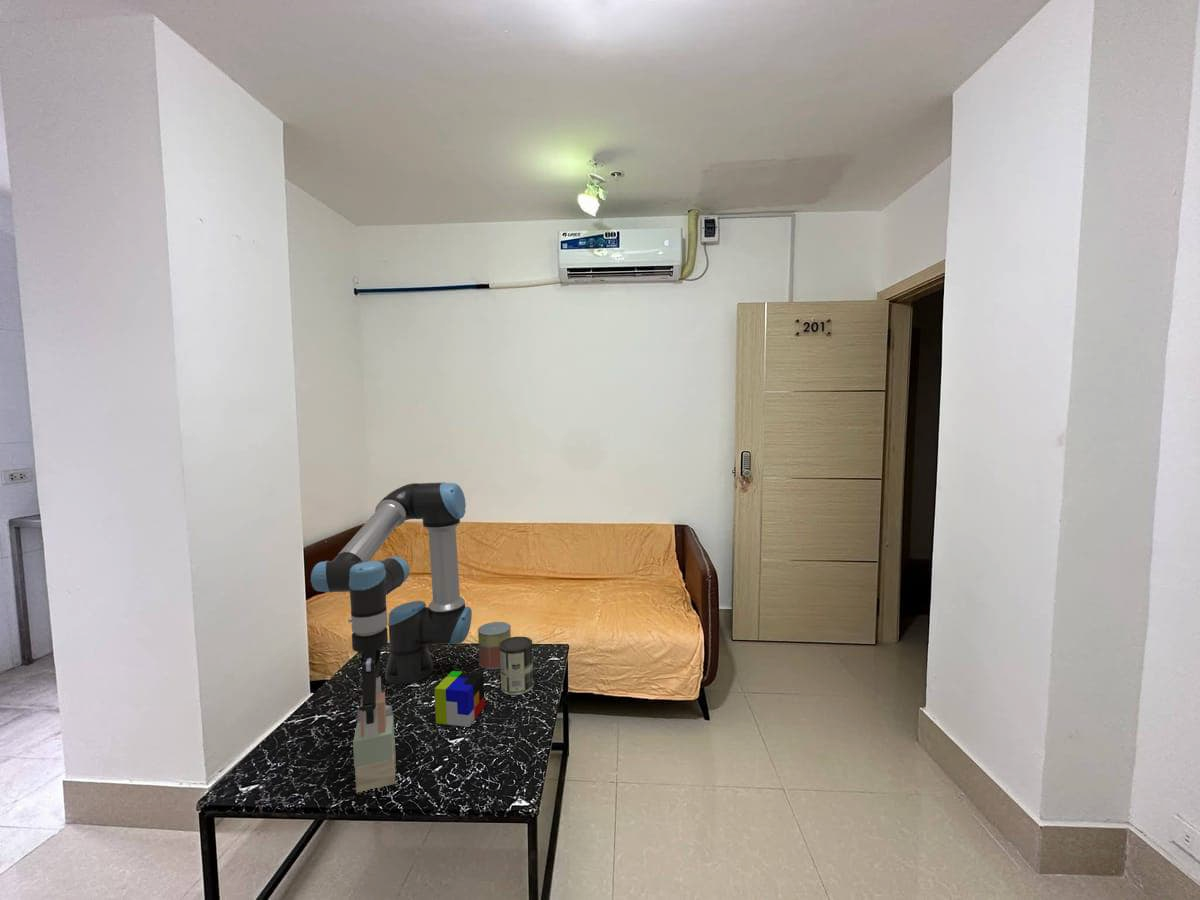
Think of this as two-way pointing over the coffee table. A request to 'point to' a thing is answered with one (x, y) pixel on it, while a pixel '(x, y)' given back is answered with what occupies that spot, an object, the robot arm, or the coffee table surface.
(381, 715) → the terracotta block
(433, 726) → the coffee table surface
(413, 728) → the coffee table surface
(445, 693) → the puzzle toy
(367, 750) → the sage block
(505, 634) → the canned food
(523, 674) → the coffee can
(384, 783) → the beech block
